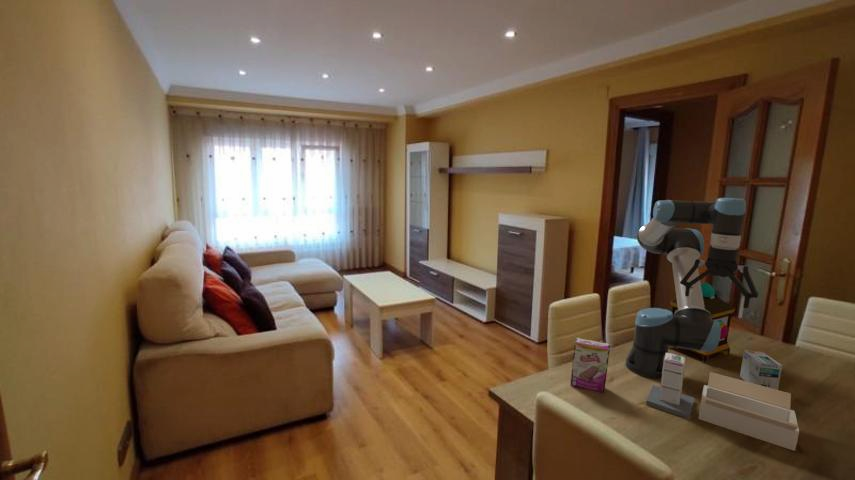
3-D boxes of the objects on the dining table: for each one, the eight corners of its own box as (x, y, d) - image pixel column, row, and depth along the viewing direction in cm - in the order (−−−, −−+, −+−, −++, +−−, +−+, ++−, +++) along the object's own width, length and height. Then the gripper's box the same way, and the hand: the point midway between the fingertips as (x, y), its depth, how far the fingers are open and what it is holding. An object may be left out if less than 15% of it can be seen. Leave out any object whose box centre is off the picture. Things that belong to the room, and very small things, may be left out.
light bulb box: (778, 394, 136) (783, 365, 134) (755, 391, 137) (761, 362, 135) (759, 378, 146) (764, 351, 144) (738, 376, 147) (743, 349, 146)
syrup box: (679, 406, 125) (685, 363, 122) (658, 399, 128) (663, 358, 126) (680, 397, 130) (686, 356, 127) (659, 391, 133) (665, 351, 130)
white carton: (697, 425, 118) (701, 396, 116) (702, 396, 134) (706, 370, 132) (796, 459, 105) (803, 427, 103) (789, 422, 120) (795, 394, 119)
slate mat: (645, 404, 128) (646, 400, 128) (652, 389, 137) (652, 385, 137) (689, 419, 121) (690, 415, 121) (693, 401, 130) (694, 397, 130)
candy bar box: (570, 386, 138) (574, 342, 135) (571, 379, 143) (575, 336, 140) (605, 394, 134) (610, 349, 131) (605, 387, 138) (610, 343, 135)
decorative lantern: (657, 345, 172) (666, 279, 167) (685, 337, 181) (694, 274, 176) (707, 366, 154) (718, 292, 149) (734, 356, 163) (746, 286, 158)
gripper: (675, 243, 130) (667, 304, 134) (775, 255, 113) (762, 325, 117) (680, 240, 136) (672, 299, 139) (776, 251, 119) (764, 318, 123)
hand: (713, 311), depth 128 cm, fingers open, 13 cm apart
